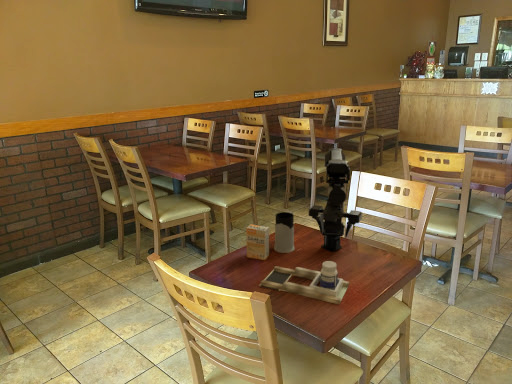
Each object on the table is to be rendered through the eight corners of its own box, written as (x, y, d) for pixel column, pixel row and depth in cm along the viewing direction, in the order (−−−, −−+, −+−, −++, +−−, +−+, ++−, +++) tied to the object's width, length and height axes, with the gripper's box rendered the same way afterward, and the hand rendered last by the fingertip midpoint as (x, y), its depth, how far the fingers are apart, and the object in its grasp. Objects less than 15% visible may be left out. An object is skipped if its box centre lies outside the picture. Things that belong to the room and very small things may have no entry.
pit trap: (259, 286, 140) (259, 285, 140) (275, 268, 152) (275, 267, 152) (279, 291, 136) (279, 289, 136) (294, 272, 148) (294, 271, 148)
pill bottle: (326, 283, 140) (327, 258, 137) (340, 289, 136) (341, 263, 133) (316, 290, 136) (317, 264, 133) (330, 296, 132) (331, 269, 129)
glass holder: (270, 250, 167) (270, 217, 162) (282, 238, 179) (282, 206, 174) (290, 254, 163) (291, 220, 159) (301, 241, 176) (302, 209, 171)
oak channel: (261, 285, 140) (260, 277, 139) (275, 269, 151) (275, 262, 150) (339, 304, 128) (339, 296, 127) (348, 285, 139) (349, 277, 138)
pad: (316, 296, 133) (316, 295, 133) (324, 282, 141) (324, 282, 141) (340, 301, 130) (340, 301, 130) (347, 287, 138) (347, 287, 138)
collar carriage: (309, 292, 134) (309, 285, 134) (317, 279, 142) (317, 273, 141) (335, 298, 130) (336, 291, 130) (342, 285, 138) (343, 279, 137)
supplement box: (246, 257, 161) (245, 227, 157) (250, 252, 165) (250, 223, 161) (265, 261, 158) (265, 230, 154) (269, 256, 162) (269, 226, 158)
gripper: (304, 198, 141) (303, 239, 146) (356, 205, 133) (354, 248, 138) (313, 190, 151) (312, 228, 155) (363, 196, 143) (360, 236, 148)
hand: (334, 235), depth 149 cm, fingers open, 9 cm apart
